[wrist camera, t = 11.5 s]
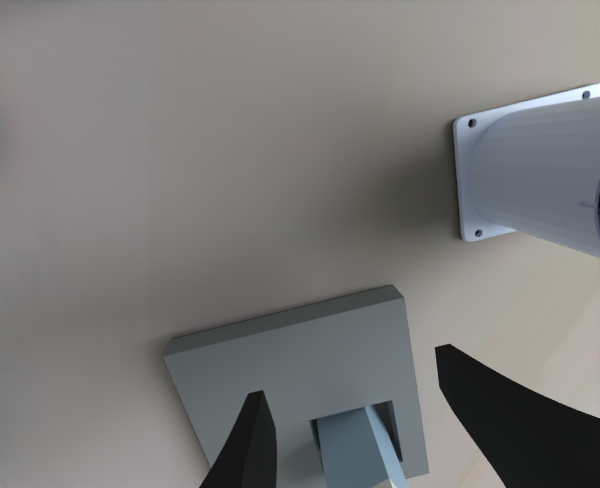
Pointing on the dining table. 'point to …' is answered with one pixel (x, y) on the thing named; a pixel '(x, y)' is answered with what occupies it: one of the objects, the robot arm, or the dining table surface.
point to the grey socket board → (304, 378)
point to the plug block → (358, 451)
